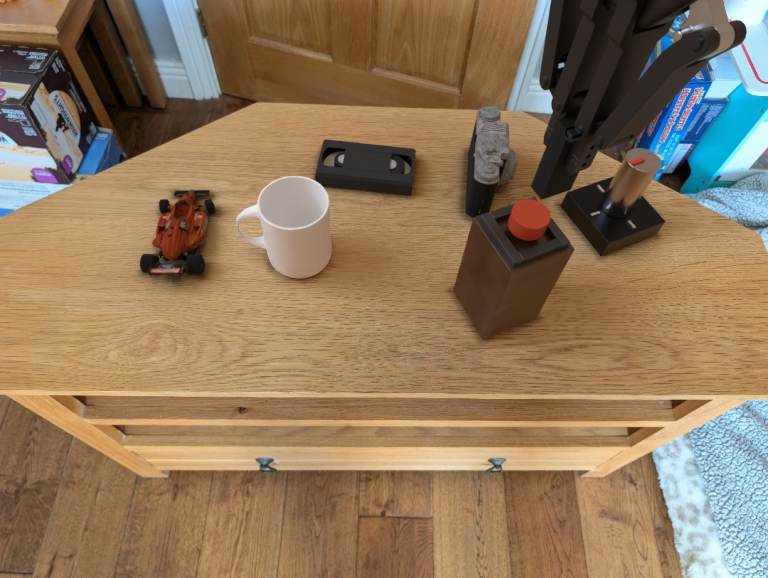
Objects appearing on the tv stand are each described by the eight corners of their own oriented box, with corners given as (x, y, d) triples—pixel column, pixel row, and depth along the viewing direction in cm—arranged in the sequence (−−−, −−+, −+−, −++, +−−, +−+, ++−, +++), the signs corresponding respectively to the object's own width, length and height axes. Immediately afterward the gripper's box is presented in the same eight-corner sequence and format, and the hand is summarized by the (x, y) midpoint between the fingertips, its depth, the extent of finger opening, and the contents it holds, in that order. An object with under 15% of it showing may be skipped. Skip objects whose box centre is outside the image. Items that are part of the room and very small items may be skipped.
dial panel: (656, 234, 81) (666, 220, 78) (600, 256, 78) (609, 242, 75) (614, 187, 85) (622, 172, 83) (560, 205, 83) (567, 191, 80)
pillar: (536, 318, 72) (577, 244, 59) (482, 340, 70) (513, 268, 57) (504, 271, 76) (536, 191, 63) (452, 290, 74) (474, 212, 60)
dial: (618, 191, 81) (647, 142, 73) (637, 212, 79) (669, 164, 71) (594, 199, 80) (620, 151, 72) (612, 222, 78) (642, 174, 70)
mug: (248, 226, 78) (235, 171, 69) (334, 231, 78) (332, 177, 69) (238, 277, 73) (222, 226, 64) (329, 282, 74) (326, 231, 65)
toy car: (221, 193, 81) (214, 171, 77) (201, 288, 72) (193, 269, 68) (166, 191, 81) (157, 170, 77) (140, 287, 72) (128, 267, 68)
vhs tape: (414, 158, 87) (416, 148, 85) (411, 195, 82) (412, 186, 81) (324, 148, 87) (323, 138, 85) (315, 185, 83) (314, 176, 81)
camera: (509, 223, 80) (528, 174, 72) (463, 218, 81) (475, 168, 72) (508, 152, 88) (525, 100, 80) (466, 147, 89) (478, 95, 80)
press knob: (552, 234, 59) (558, 221, 57) (520, 245, 58) (525, 233, 56) (532, 207, 61) (537, 194, 59) (500, 217, 60) (504, 205, 58)
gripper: (556, -248, 25) (467, 145, 45) (770, -127, 19) (557, 267, 39) (684, -260, 27) (544, 122, 47) (915, -153, 21) (642, 235, 41)
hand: (550, 188), depth 43 cm, fingers closed
